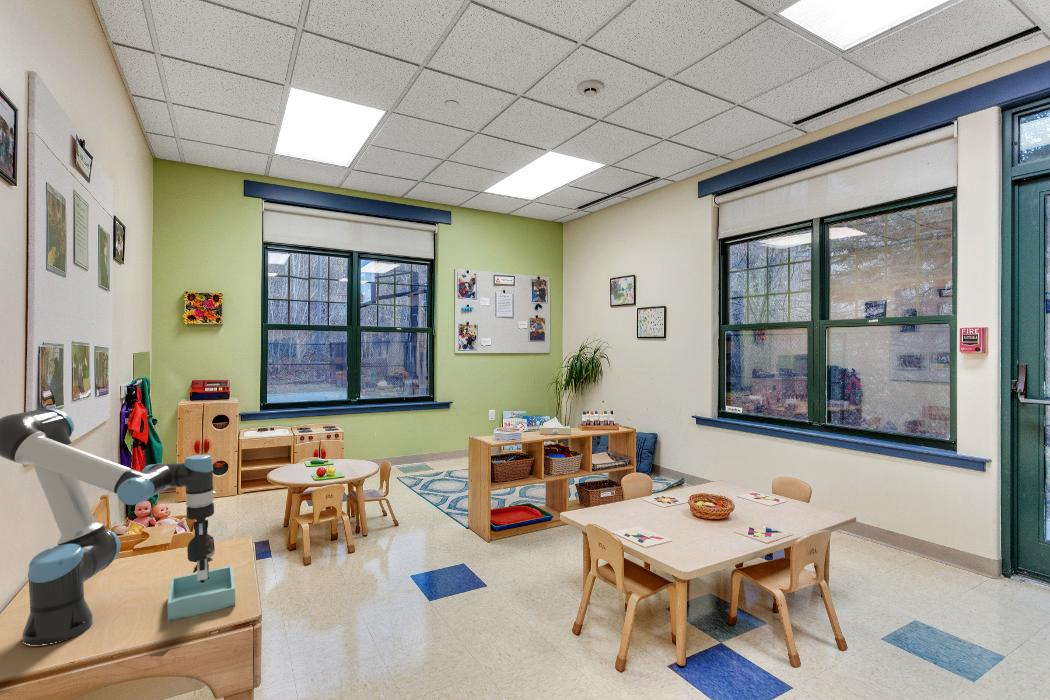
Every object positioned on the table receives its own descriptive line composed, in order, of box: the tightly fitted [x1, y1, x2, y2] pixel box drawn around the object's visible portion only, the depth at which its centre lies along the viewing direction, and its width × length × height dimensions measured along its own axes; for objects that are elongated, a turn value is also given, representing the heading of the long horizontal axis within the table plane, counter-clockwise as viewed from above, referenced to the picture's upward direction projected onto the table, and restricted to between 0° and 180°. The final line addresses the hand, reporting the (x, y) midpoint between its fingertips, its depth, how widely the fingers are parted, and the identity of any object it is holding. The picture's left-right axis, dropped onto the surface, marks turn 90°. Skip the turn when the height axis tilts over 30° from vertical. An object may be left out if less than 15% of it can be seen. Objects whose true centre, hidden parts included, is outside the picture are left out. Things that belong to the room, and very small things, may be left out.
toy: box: [186, 533, 216, 583], centre depth 169 cm, size 9×8×15 cm
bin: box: [167, 565, 236, 622], centre depth 169 cm, size 18×19×6 cm
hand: (202, 574), depth 169 cm, fingers closed on toy, 7 cm apart
